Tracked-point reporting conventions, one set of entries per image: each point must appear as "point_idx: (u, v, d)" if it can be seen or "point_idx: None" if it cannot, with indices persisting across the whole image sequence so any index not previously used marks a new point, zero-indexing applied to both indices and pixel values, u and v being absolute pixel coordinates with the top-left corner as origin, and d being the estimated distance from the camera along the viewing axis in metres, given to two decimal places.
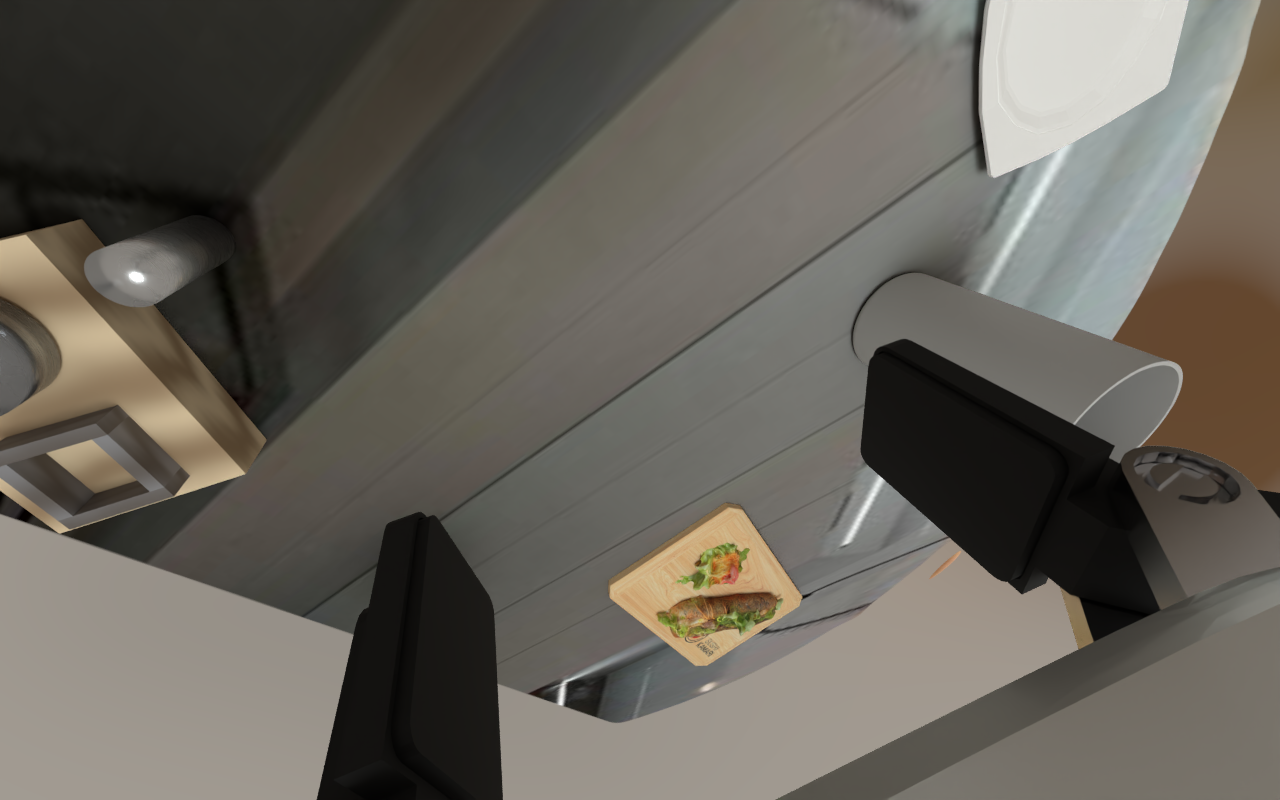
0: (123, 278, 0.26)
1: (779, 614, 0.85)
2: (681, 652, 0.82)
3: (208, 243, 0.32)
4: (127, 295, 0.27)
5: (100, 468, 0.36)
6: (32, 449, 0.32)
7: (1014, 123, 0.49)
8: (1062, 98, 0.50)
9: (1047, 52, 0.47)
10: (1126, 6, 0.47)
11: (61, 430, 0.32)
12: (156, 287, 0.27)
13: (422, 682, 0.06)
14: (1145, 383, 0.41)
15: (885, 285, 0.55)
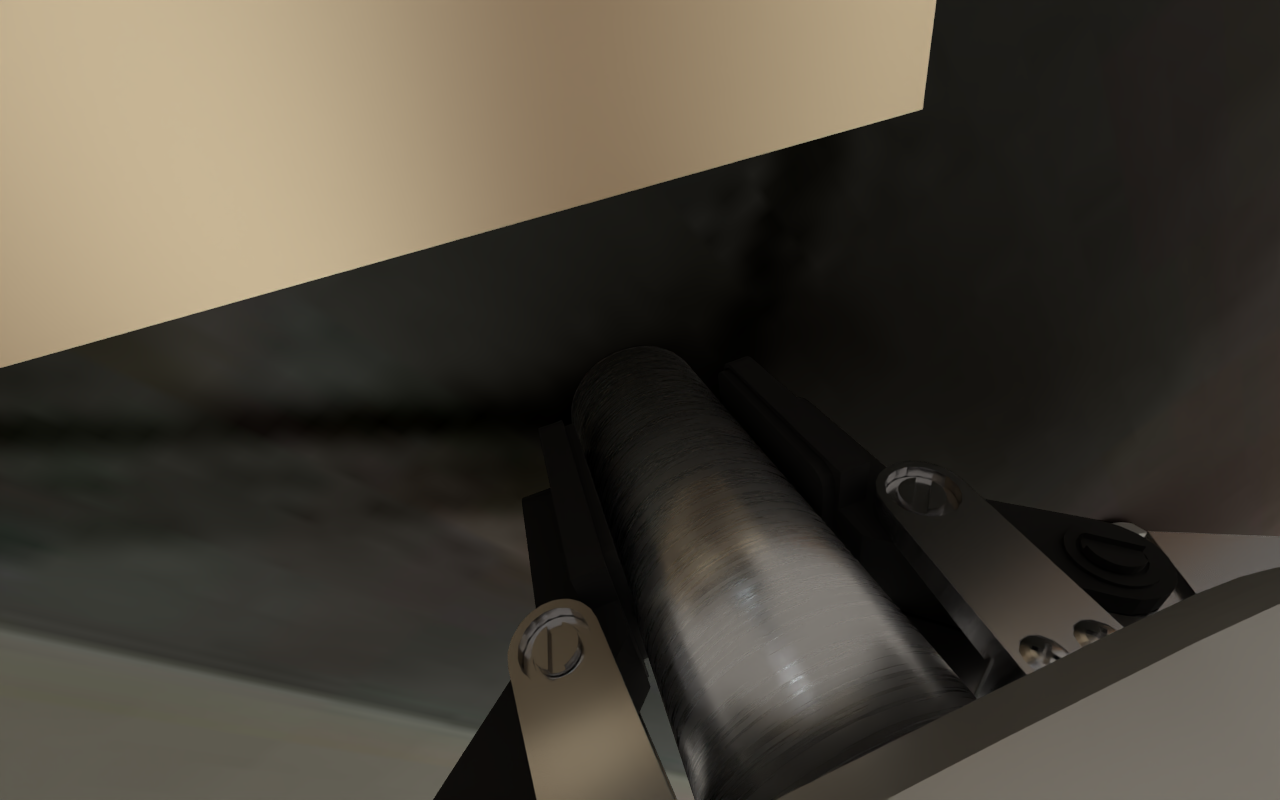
0: None
1: None
2: None
3: None
4: None
5: None
6: None
7: None
8: None
9: None
10: None
11: None
12: None
13: (609, 530, 0.07)
14: None
15: None
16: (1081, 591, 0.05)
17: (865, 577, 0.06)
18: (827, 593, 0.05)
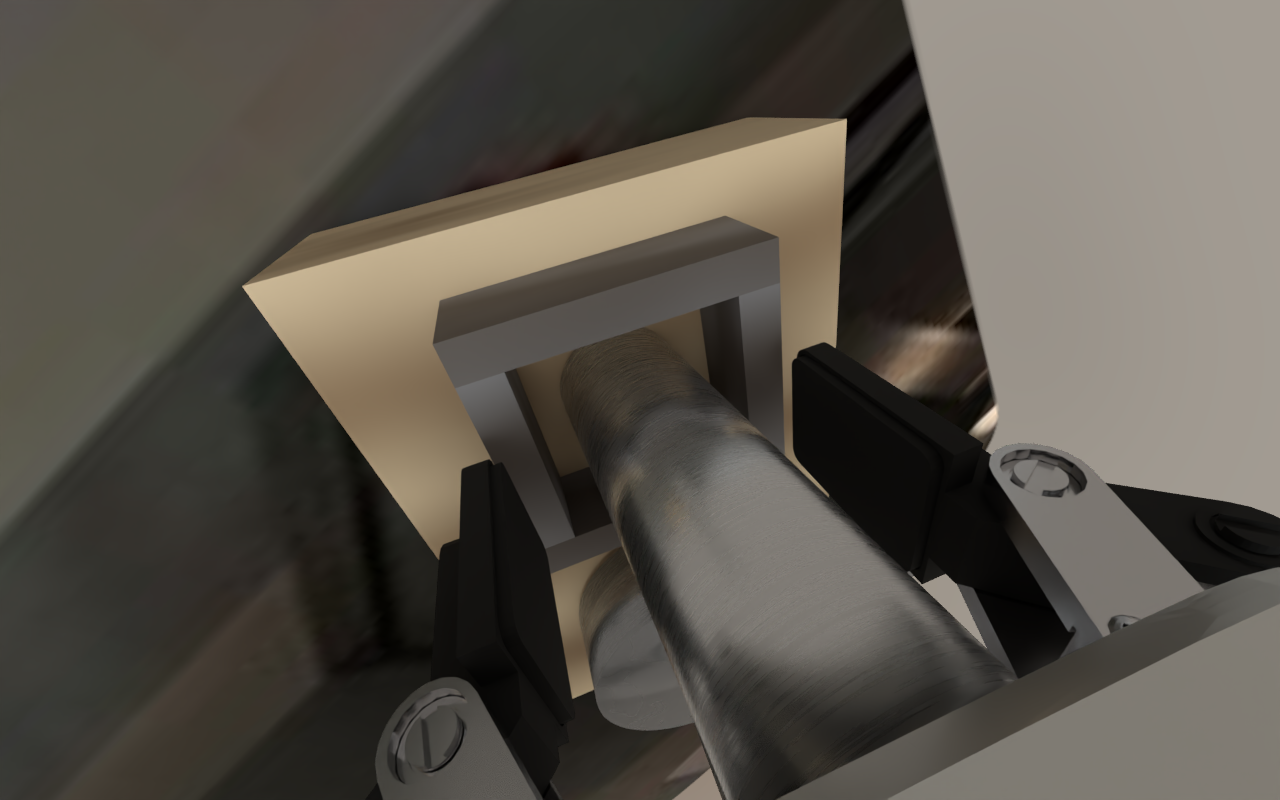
0: None
1: None
2: None
3: None
4: None
5: None
6: None
7: None
8: None
9: None
10: None
11: None
12: None
13: (516, 591, 0.07)
14: None
15: None
16: None
17: (813, 485, 0.07)
18: (777, 491, 0.07)
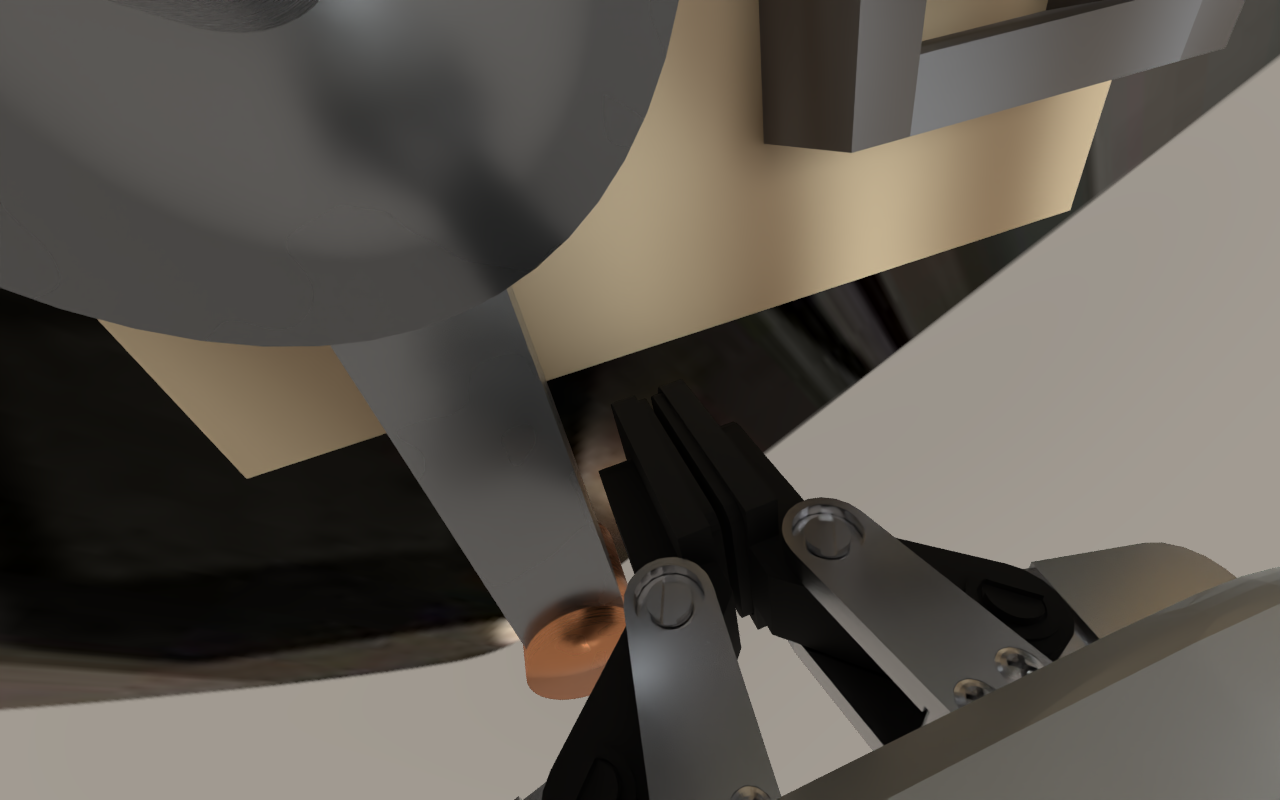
0: None
1: None
2: None
3: None
4: None
5: None
6: None
7: None
8: None
9: None
10: None
11: None
12: None
13: (700, 495, 0.08)
14: None
15: None
16: (990, 615, 0.05)
17: None
18: None
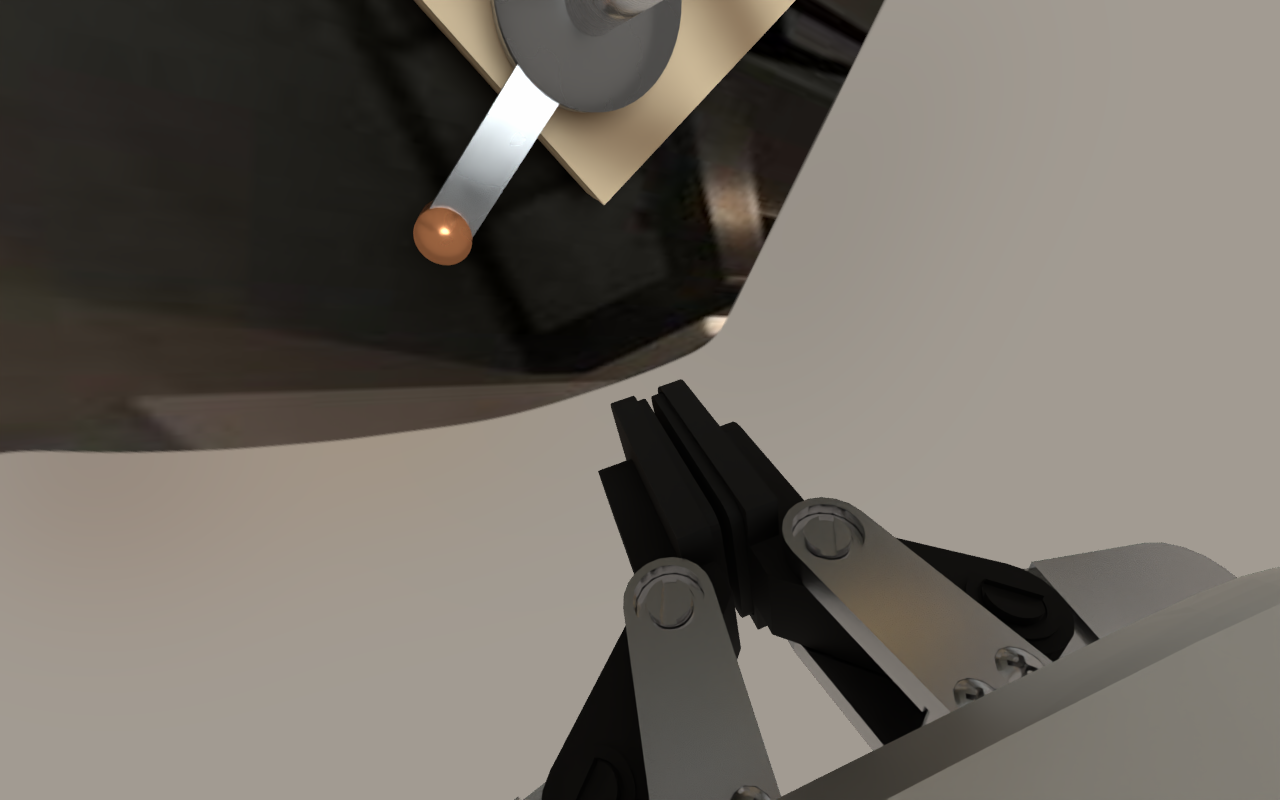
0: None
1: None
2: None
3: None
4: None
5: None
6: None
7: None
8: None
9: None
10: None
11: None
12: None
13: (700, 495, 0.08)
14: None
15: None
16: (990, 615, 0.05)
17: None
18: None
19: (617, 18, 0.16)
